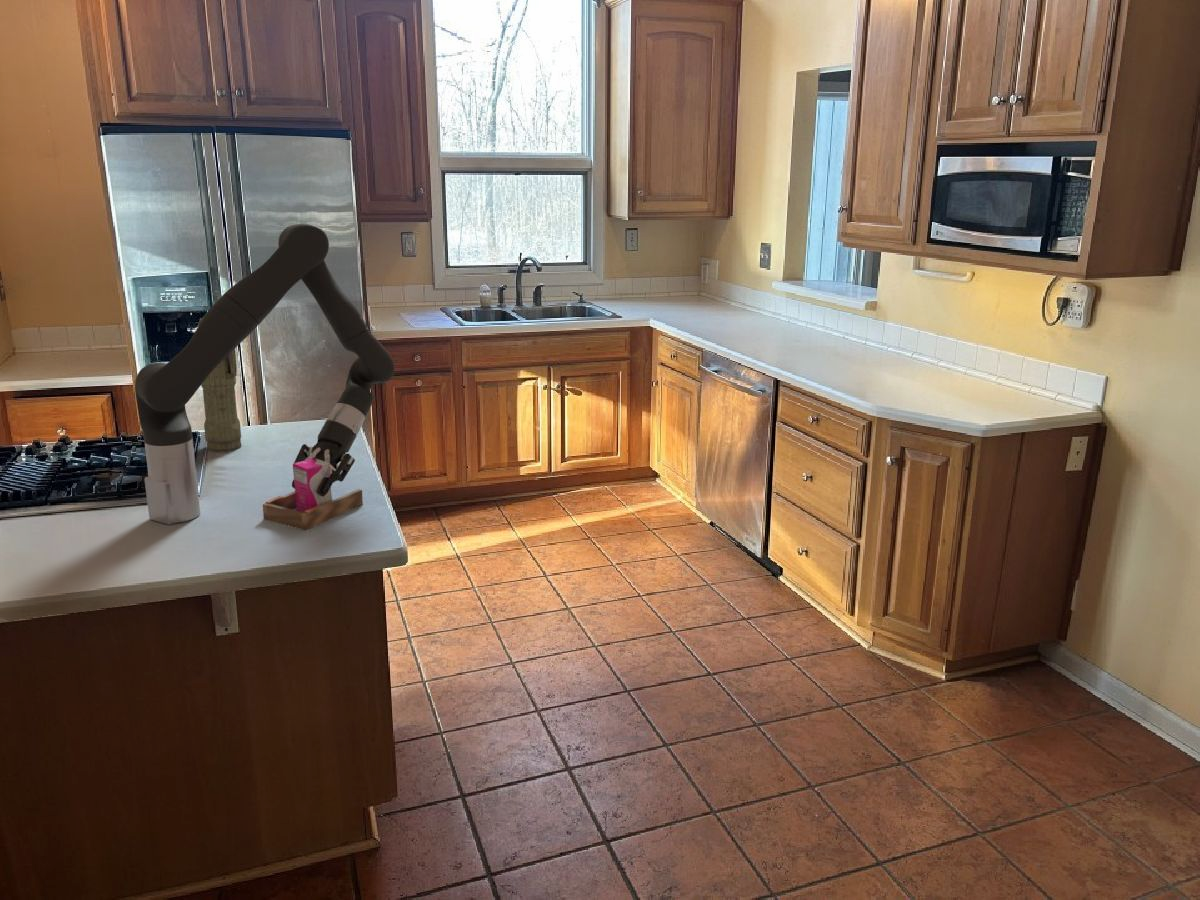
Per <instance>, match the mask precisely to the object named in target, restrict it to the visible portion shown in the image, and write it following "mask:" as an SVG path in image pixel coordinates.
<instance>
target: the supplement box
mask: <svg viewBox="0 0 1200 900" xmlns="http://www.w3.org/2000/svg"><path fill="white" fill-rule="evenodd" d="M328 465H329V463H328V462H325V461H322V460H319V459H316V458H315V459H308V460H305V461H301V462H297V463H294V462H293V463H292V473H293V480H294V485H295V489H294V491H295V496H296V508H295V509H296V510H297V511H301V512H305V511H306V510H309V509H311V508H313V507H316V506H318V505H319V506H321V505H323V504H325V503H328V502H330V501H332V500H333V497H332V496H333V495H332V493H333V492H332V487H331V488H330V489H329V491H328V493H327V494H326V495H325V496H324V497H323V496H320V495H319V494H318V493H317V490H318V488H319V486H320V484H321V482H322V480H323V478H326V471H327V469H328Z"/></svg>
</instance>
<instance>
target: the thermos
mask: <svg viewBox="0 0 1200 900" xmlns="http://www.w3.org/2000/svg"><path fill="white" fill-rule="evenodd" d="M203 317H204V316H203ZM203 317H202V318H201V317H200V318H199V321H198V324H197V326H198V325H199V324H200V322H201V320H202V319H203ZM236 355H237V354H236V348H235V349H234V350H233V351H232V352H231V353H230V354H229V355H228V356H227V357H226V358H225V359H224V360H223V361H222V362H221V363H220V364H219V365H218V366H217V367H216V368H215V369H214V370H213V371H212V372H211V373H210V374H209V376H208V377H207V378H206V379H205V381H204V382H203V383H202V385H201V386H200V387H201V388H202V395H203V396H202V398H203V405H204V415H205V420H204V424H203V425H204V426H203V428H204V438H205V441H206V449H207V448H208V449H207V451H209V452H216V453H225V452H232V451H236V450H239V449H241V448H242V439H241V438H242V429H241V421H240V419H239V417H238V408H237V407H238V406H237V396H236V388H235V387H236V384H237V376H238V375H237V373H238V370H237V368H238V366H237V356H236Z"/></svg>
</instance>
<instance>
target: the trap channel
mask: <svg viewBox="0 0 1200 900" xmlns="http://www.w3.org/2000/svg"><path fill="white" fill-rule="evenodd" d="M363 500H364V499H363V489H360V488H358V489H355V490H354V491H353V490H352V491H351V492H349V493H346V494H344V495H342V496H340V497H338V498H334V499H332V501H330V502H328V503H325V504H323V505H321V506H319V505H318V506H316V507H313V508H311V509H309V510H306V511H305V512H301V511H297V508H296V496H295V490H294V491H292V492H290V493H287V494H284V495H282V496H281V495H279V496H276V497H273V498H271V499H268V500H266V501H265V502H264V503H263V504H262V515H263V520H265V521H269V522H272V523H276V522H277V524H280V523H281V525H284V524H285V525H284V526H288V525H289V527H291V526H292V528H295V527H296V529H299V528H300V530H303V529H304V530H303V531H308V530H310V529H312V528H315V527H316V525H317V526H319V525H321V524H323V523H325V522H327V521H330V520H331V518H332V519H334V518H336V517H338V516H340V515H343V514H344V512H345V513H347V512H349V511H351V510H353V509H355V507H356V508H358V507H360V506H362V505H364V503H363ZM361 504H362V505H361ZM359 505H360V506H359ZM357 506H358V507H357ZM352 508H353V509H352ZM350 509H351V510H350ZM348 510H349V511H348ZM346 511H347V512H346ZM342 513H343V514H342ZM333 517H334V518H333ZM329 519H330V520H329ZM320 523H321V524H320ZM318 524H319V525H318ZM311 527H312V528H311ZM309 528H310V529H309ZM307 529H308V530H307Z"/></svg>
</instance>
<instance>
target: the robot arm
mask: <svg viewBox="0 0 1200 900" xmlns="http://www.w3.org/2000/svg"><path fill="white" fill-rule="evenodd" d="M277 244H278V248H276V250H275V251H274V252H273V254H272V255H271V256H270V257H269V258H268V259H266V261H265V262H264V263H263V264H262V265H260V267H257V268H256V269H255V270H254V271H252V272H251V273H249V274H247V275H246V276H245V277H243V278H242V279H240V280H239V281H238V282H236V283H235V284H234V285H232V286H231V287H230V288H229V289H228V290H226V291H225V292H224V293H223V294H222V295H221V296H220V297H219V299H217V300H216V302H214V303H213V304H212V305H211V307H210V308H209V309H208V310H207V312H206V313H205V314H204V316H203V319H202V320H201V322H200V324H199V323H198V324H199V325H198V324H197V327H196V329H195V332H194V334H192V337H190V338H191V339H190V340H189V342H188V343H187V344H186V345H185V346H184V348H182V350H181V351H179V353H177V354H176V355H175V356H174V357H173V358H172V359H171V360H170V361H169V362H167V363H165V362H159V361H158V362H151V363H149V364H147V365H145V366H143V367H142V368H141V369H140V370H139V372H138V373H137V374H136V378H135V382H134V390H135V399H136V406H137V413H138V419H139V425H140V428H141V431H142V434H143V435H142V436H143V441H144V448H145V450H144V451H145V457H146V467H147V475H148V476H145V477H144V485H145V486H144V487H145V493H146V494H145V495H146V502H147V503H146V505H147V511H148V518H149V520H152V521H155V522H159V523H162V524H165V525H171V524H177V523H184V522H188V521H190V520H194V519H195V518H197V517H198V516H200V514H201V507H200V506H201V505H200V499H199V488H198V479H197V471H196V470H197V468H196V459H195V449H194V439H193V430H192V426H191V423H190V421H189V418H188V413H187V409H186V404H187V403H189V401H190V400H191V399H192V398H193V396H194V395H195V394H196V392H197V391H198V390H199V389H200V387H202V386H201V385H202V383H203V382H204V381H205V379H206V378H207V377H208V376H209V374H210V373H211V372H212V371H213V370H214V369H215V368H216V367H217V366H218V365H219V364H220V363H221V362H222V361H223V360H224V359H225V358H226V357H227V356H228V355H229V354H230V353H231V352H232V351H233V350H234V349H235V350H236V348H237V347H238V346H239V345H240V344H241V343H242V342H243V341H245V339H247V338H248V336H250V335H251V334H252V332H253V331H254V330H255V329H256V328H257V327H259V325H260V324H261V323H262V322H263V321H264V320H265V319H266V317H267V316H268V315H269V314H270V313H271V312H272V311H273V309H275V307H276V306H277V305H278V304H279V303H280V302H281V300H283V298H284V297H285V295H286V294H287V293H288V292H289V290H291V289H292V288H293V286H295V285H296V284H297V283H299V281H302V282H303V284H304V285H305V286H306V288H307V289H308V290H309V292H310V294H311V295H312V296H313V298H314V300H315V301H316V303H317V305H318V306H319V308H320V309H321V311H322V313H323V314H324V316H325V318H326V319H327V321H328V324H329V325H330V326H331V329H332V330H333V331H334V334H335V335H336V337H337V338H338V341H339V342H340V343H341V345H342V347H343V348H344V349H345V350H346V351H348V352H352V353H355V355H357V358H356V359H355V360H354V361H353V362H352V364H351V366H350V368H349V370H348V375H347V379H346V382H345V388H344V390H343V392H342V394H341V395H340V397H339V399H338V401H337V402H336V404H335V405H334V407H333V408H332V410H331V411H330V413H329V415H328V416H327V418H326V421H324V424H323V426H322V427H321V429H320V431H319V433H318V435H317V442H316V444H314V445H313V446H308V445H307V443H303V444H302V445H301V447H300V449H299V451H298V454H297V455H296V458H295V460H294V461H293V463H297V462H301V461H305V460H308V459H315V458H316V459H319V460H322V461H325V462H328V463H329V465H328V469H327V471H326V478H323V480H322V482H321V484H320V486H319V488H318V490H317V493H318V494H319V495H320V496H323V497H324V496H325V495H326V494H327V493H328V491H329V489H330V488H331V489H332V486H333V484H334V483H336V482H337V481H338V482H341V483H342V482H343V481H344V480H345V478H346V476H347V475H348V473H349V472H350V470H351V468H352V467H353V465H354V463H355V462H356V459H355V458H354V457H353V456H352V455H351V454H350V453H349V452H350V450H351V449H352V446H353V444H354V442H355V440H356V438H357V436H358V434H359V433H360V431H361V429H362V427H363V424H364V421H365V419H366V417H367V415H368V413H369V412H370V409H371V408H372V405H373V403H374V395H373V393H372V392H371V389H372V387H373V386H374V384H384V383H387V382H389V381H390V380H391V379H393V377H394V376H395V372H396V371H395V368H396V367H395V362H394V360H393V358H392V356H391V354H390V352H389V351H388V350H387V349H386V348H385V347H384V346H383V344H382V343H381V342H380V340H378V338H376V337H375V336H374V334H372V333H371V331H370V329H369V327H368V325H367V324H366V322H365V320H364V319H363V317H362V315H361V313H360V311H359V310H358V308H357V307H356V305H355V304H354V303H353V302H352V300H351V299H350V297H349V296H348V295H347V294H346V293H345V291H344V290H343V289H342V288H341V286H340V285H339V284H338V282H337V281H336V279H335V278H334V277H333V275H332V272H331V271H330V269H329V267H328V266H327V263H326V261H325V259H326V258H327V255H328V254H329V253H328V252H329V249H330V242H329V237H328V235H327V233H326V232H325V231H324V230H323V229H322V228H321V227H319V226H317V225H314V224H311V223H299V224H297V223H296V224H293V225H289V226H287V227H285V228H284V229H283V231H281V233H280V235H279V238H278V242H277ZM291 487H292V488H293V489H294V490H295V485H294V479H293V480H292V481H291Z"/></svg>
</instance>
